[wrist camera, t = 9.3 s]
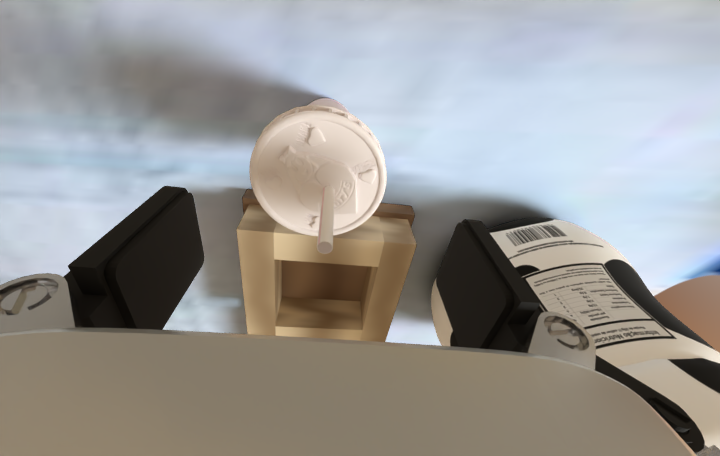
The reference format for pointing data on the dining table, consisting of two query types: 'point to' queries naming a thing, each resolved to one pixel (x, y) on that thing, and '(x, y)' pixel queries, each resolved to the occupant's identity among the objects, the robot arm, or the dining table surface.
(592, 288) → the milk container
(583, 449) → the robot arm
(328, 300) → the wooden tray with button
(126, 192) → the dining table surface
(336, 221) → the smoothie
